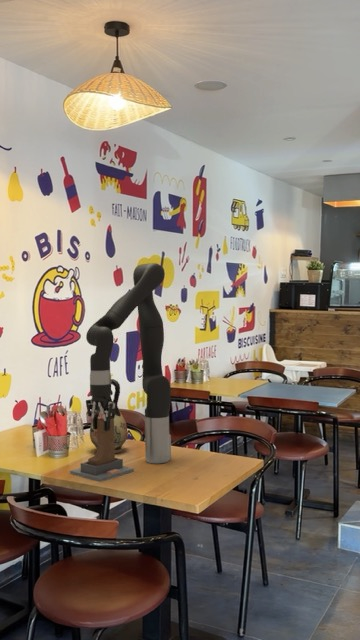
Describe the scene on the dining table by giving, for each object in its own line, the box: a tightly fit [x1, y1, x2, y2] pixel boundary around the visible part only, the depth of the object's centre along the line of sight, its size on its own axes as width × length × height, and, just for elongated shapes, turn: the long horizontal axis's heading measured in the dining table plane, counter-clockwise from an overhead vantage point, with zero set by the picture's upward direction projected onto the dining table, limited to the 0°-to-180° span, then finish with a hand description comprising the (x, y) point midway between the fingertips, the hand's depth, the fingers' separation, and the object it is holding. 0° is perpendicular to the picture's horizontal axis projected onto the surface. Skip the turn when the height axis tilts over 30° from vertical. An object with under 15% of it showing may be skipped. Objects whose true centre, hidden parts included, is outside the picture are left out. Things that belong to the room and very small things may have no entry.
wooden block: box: [87, 418, 116, 466], centre depth 221 cm, size 9×4×18 cm, turn 137°
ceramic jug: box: [89, 378, 129, 454], centre depth 251 cm, size 17×15×30 cm
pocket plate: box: [69, 457, 135, 482], centre depth 221 cm, size 16×16×4 cm
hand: (101, 429), depth 221 cm, fingers open, 5 cm apart
